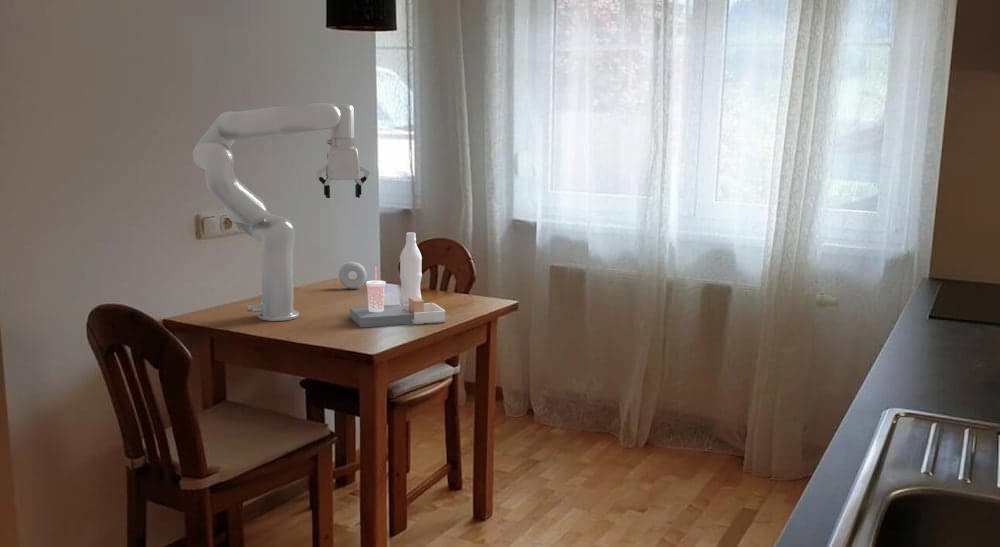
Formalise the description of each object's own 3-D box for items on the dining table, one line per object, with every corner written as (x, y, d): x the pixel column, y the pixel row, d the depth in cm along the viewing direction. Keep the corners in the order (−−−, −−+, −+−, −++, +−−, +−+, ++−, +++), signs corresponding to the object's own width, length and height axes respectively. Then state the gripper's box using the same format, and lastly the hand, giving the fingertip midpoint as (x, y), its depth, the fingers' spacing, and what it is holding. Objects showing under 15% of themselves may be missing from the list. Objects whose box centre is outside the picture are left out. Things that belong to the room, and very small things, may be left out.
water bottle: (411, 311, 290) (411, 235, 286) (395, 307, 295) (395, 232, 290) (426, 307, 296) (426, 233, 291) (410, 304, 300) (410, 230, 296)
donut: (338, 289, 321) (338, 262, 319) (339, 287, 324) (338, 260, 322) (366, 289, 322) (366, 262, 320) (367, 288, 325) (366, 261, 323)
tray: (414, 324, 273) (414, 313, 272) (402, 315, 284) (403, 304, 284) (445, 322, 277) (446, 311, 276) (433, 313, 288) (433, 302, 287)
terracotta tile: (414, 301, 275) (423, 300, 277) (408, 297, 281) (417, 296, 282) (414, 320, 277) (423, 319, 278) (408, 316, 282) (417, 315, 283)
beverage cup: (379, 313, 273) (379, 268, 271) (362, 311, 276) (362, 266, 273) (389, 309, 279) (389, 265, 276) (372, 307, 281) (372, 263, 279)
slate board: (360, 327, 268) (360, 317, 267) (350, 317, 281) (349, 307, 280) (412, 323, 274) (412, 314, 273) (399, 313, 287) (399, 304, 286)
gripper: (317, 144, 276) (318, 199, 279) (372, 144, 282) (372, 198, 286) (312, 142, 283) (313, 196, 286) (366, 143, 289) (366, 195, 292)
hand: (342, 197), depth 286 cm, fingers open, 9 cm apart
